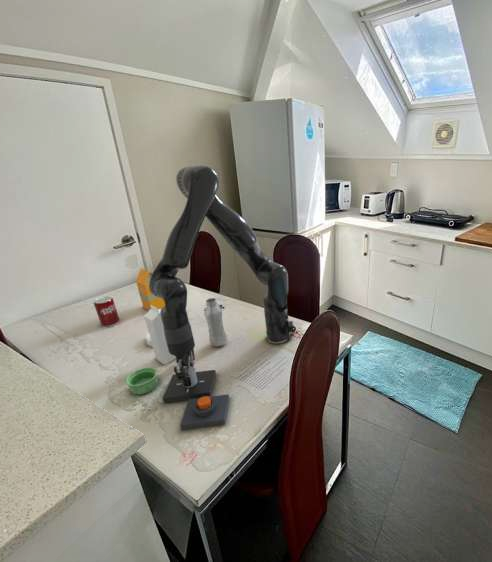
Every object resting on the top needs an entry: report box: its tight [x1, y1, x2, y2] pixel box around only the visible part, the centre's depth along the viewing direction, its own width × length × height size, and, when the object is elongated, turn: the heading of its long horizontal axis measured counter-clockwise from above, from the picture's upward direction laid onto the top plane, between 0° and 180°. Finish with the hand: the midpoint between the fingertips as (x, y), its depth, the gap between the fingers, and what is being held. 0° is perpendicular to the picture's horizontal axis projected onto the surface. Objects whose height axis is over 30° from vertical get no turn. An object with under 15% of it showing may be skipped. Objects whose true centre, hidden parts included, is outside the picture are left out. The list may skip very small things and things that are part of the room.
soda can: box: [93, 296, 120, 328], centre depth 140 cm, size 7×7×12 cm
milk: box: [143, 305, 176, 365], centre depth 114 cm, size 6×6×22 cm
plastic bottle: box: [203, 297, 228, 347], centre depth 123 cm, size 6×7×20 cm
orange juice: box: [135, 268, 165, 311], centre depth 153 cm, size 8×9×20 cm
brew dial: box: [182, 366, 197, 388], centre depth 101 cm, size 4×4×5 cm
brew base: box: [162, 369, 217, 405], centre depth 103 cm, size 14×11×3 cm
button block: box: [179, 393, 230, 431], centre depth 93 cm, size 12×10×4 cm
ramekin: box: [125, 366, 159, 395], centre depth 104 cm, size 9×9×4 cm
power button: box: [197, 396, 211, 410], centre depth 92 cm, size 4×4×2 cm
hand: (189, 380), depth 102 cm, fingers closed on brew dial, 4 cm apart
